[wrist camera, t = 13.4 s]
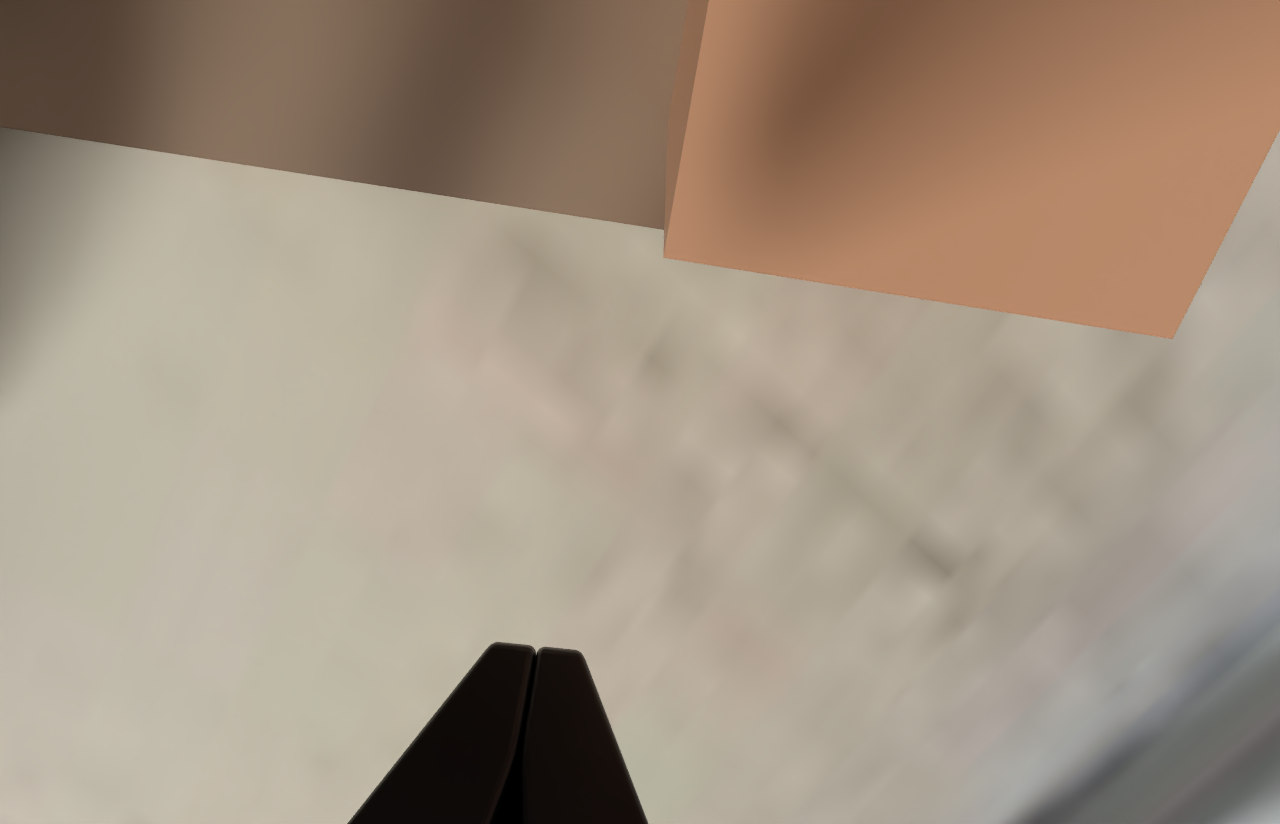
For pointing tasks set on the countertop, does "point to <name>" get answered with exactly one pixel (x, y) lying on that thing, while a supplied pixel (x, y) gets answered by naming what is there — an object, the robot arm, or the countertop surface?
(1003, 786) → the countertop surface
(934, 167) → the tan copper cube
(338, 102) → the board
